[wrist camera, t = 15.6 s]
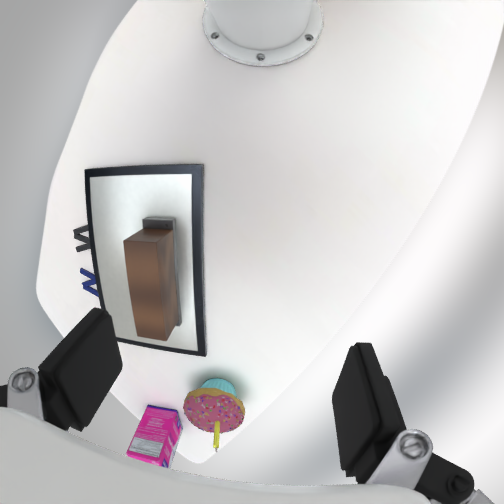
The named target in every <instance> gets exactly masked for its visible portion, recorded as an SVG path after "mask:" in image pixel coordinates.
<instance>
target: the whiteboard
mask: <svg viewBox="0 0 504 504" xmlns="http://www.w3.org/2000/svg"><path fill="white" fill-rule="evenodd" d="M203 166H204V165H203V164H169V165H139V166H120V167H106V168H93V169H85V193H86V208H87V220H88V230H89V239H90V247H91V254H92V261H93V267H94V274H95V279H96V285H97V290H98V295H99V300H100V305H101V309H104V310H107V311H108V312H109V314H110V315H111V316H112V320H113V325H114V330H115V334H116V339H117V341H118V342H123V343H128V344H133V345H137V346H142V347H148V348H153V349H159V350H164V351H170V352H176V353H183V354H189V355H196V356H204V357H206V355H207V345H206V326H205V302H204V269H203ZM146 217H151V218H175V219H176V243H177V263H178V280H179V294H180V306H181V318H182V323H181V325H180V327H179V326H175V327H174V329H173V331H172V333H171V335H170V336H169V338H168V340H167V341H161V340H155V339H149V338H143V337H138V336H137V333H136V328H135V322H134V317H133V311H132V305H131V299H130V293H129V286H128V279H127V272H126V263H125V255H124V245H123V240H125V239H126V238H128V237H130V236H131V235H133V234H135V233H136V232H138V231H139V230H141V229H143V223H142V219H144V218H146Z"/></svg>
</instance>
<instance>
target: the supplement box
mask: <svg viewBox="0 0 504 504" xmlns="http://www.w3.org/2000/svg"><path fill="white" fill-rule="evenodd" d="M182 429H183V428H182V426H181V423H180V420H179V416H178V412H177V410H172V409H166V408H161V407H156V406H151V405H147V408H146V410H145V412H144V414H143V417H142V419H141V421H140V423H139V425H138V428H137V430H136V432H135V435H134V437H133V439H132V441H131V443H130V446H129V448H128V450H127V452H126V454H127V455H128V457H131V458H134V459H137V460H141V461H144V462H147V463H151V464H154V465H158V466H161V467H165V468H169V469H170V467H171V464H172V461H173V458H174V455H175V452H176V448H177V445H178V442H179V439H180V436H181V433H182Z"/></svg>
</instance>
